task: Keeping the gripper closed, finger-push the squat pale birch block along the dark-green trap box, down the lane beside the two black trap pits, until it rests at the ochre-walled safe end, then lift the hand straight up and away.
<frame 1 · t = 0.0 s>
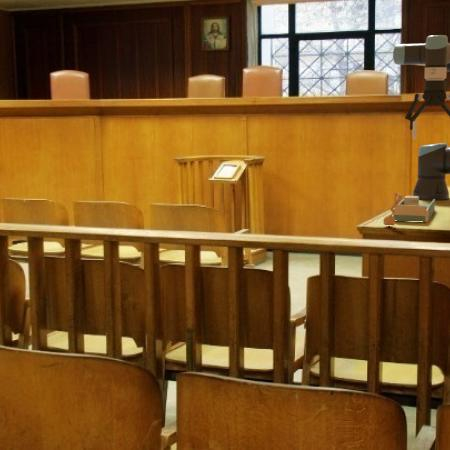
hand: (432, 139, 281), 28 cm above the table, fingers open, 13 cm apart
birch block: (411, 205, 296), point 2 cm above the table, touching trap box
trap box: (414, 215, 287), on the table
figurine: (392, 227, 263), on the table
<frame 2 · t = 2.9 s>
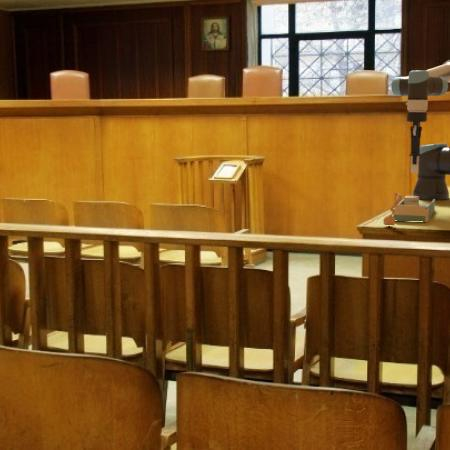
hand: (414, 172, 302), 14 cm above the table, fingers closed
nothing on the table moved.
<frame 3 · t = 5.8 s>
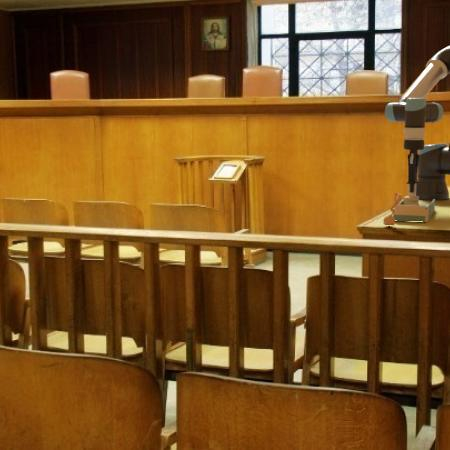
hand: (411, 200, 298), 4 cm above the table, fingers closed
birch block: (411, 205, 296), point 3 cm above the table, touching gripper
everything else where it was.
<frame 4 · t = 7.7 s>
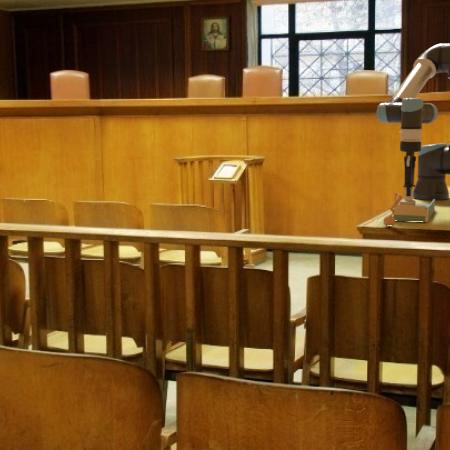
hand: (408, 204, 288), 4 cm above the table, fingers closed
birch block: (407, 209, 285), point 3 cm above the table
everything else where it was.
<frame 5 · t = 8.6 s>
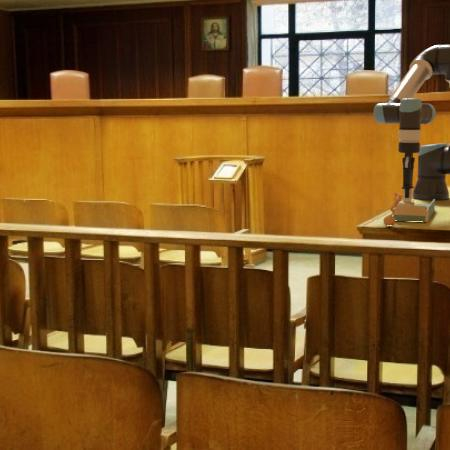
hand: (407, 206, 284), 4 cm above the table, fingers closed
birch block: (405, 211, 281), point 3 cm above the table, touching gripper, trap box
everything else where it was.
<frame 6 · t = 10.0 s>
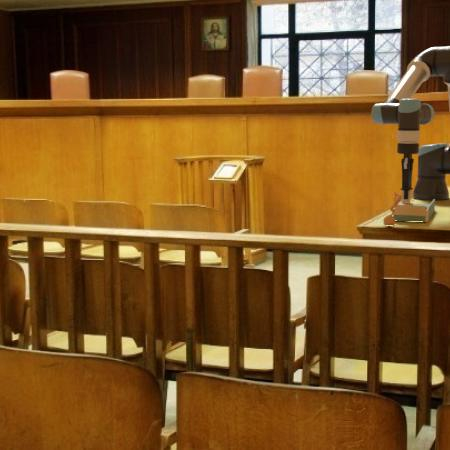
hand: (405, 207, 281), 4 cm above the table, fingers closed
birch block: (404, 212, 278), point 2 cm above the table, touching gripper, trap box
everything else where it was.
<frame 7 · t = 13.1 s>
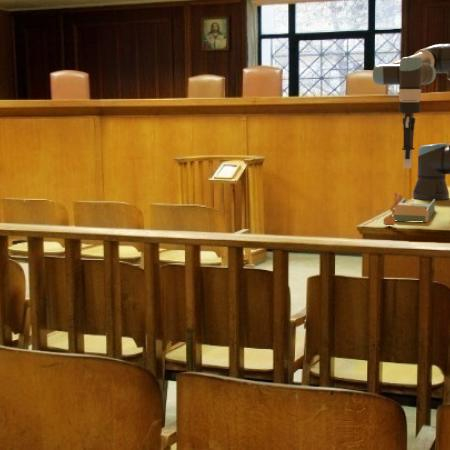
hand: (407, 168, 279), 18 cm above the table, fingers closed
birch block: (404, 212, 278), point 2 cm above the table, touching trap box
everything else where it was.
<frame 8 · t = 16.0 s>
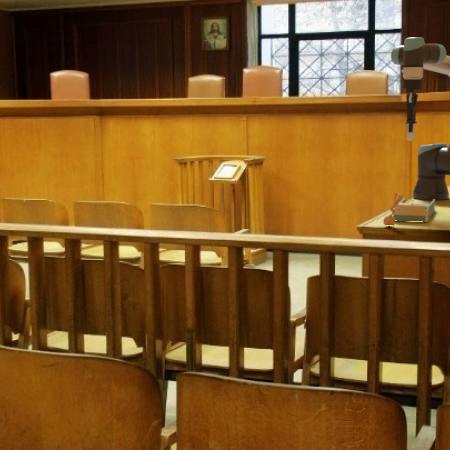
hand: (410, 140, 302), 26 cm above the table, fingers closed
nothing on the table moved.
at the end: birch block inside the target area on the trap box (1.1 cm from its centre), point 2.5 cm above the trap box's base; birch block tilted 0° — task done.
